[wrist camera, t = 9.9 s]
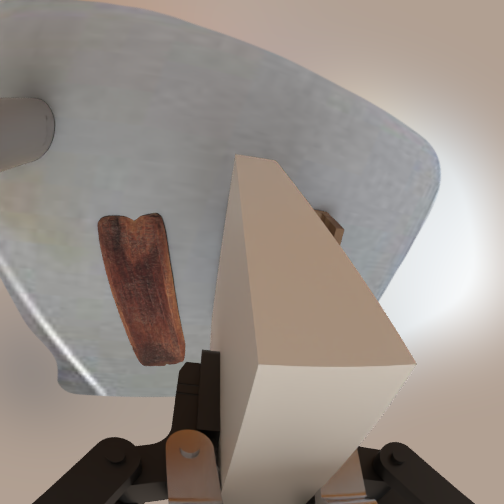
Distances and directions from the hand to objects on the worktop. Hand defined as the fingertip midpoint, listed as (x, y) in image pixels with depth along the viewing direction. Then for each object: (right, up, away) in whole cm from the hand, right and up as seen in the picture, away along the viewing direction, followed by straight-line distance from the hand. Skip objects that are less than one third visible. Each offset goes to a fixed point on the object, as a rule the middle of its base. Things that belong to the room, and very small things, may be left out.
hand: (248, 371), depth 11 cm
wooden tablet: (-16, -2, +35) cm, 38 cm away
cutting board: (-1, +5, +9) cm, 10 cm away
